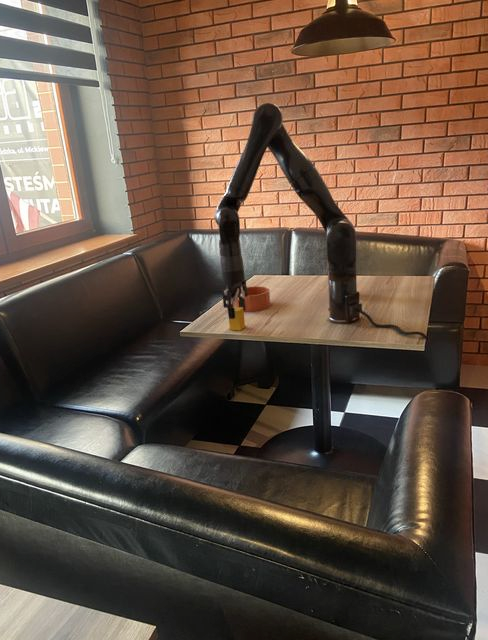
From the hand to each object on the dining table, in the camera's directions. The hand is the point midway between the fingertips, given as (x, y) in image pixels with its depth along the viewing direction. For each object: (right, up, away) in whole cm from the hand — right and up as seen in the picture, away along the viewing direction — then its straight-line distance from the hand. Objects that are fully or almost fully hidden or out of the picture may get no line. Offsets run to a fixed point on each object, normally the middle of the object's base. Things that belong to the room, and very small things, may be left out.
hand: (237, 314), depth 183 cm
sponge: (0, -5, +2) cm, 5 cm away
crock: (+6, +5, +26) cm, 27 cm away
